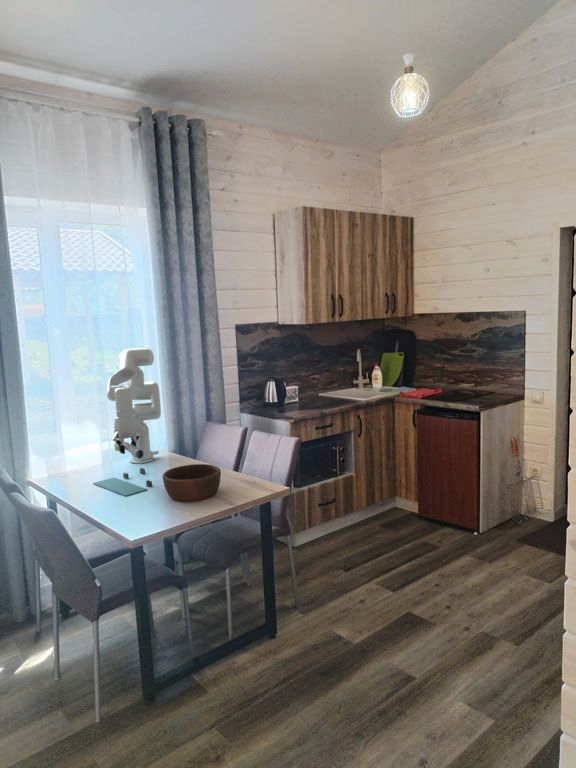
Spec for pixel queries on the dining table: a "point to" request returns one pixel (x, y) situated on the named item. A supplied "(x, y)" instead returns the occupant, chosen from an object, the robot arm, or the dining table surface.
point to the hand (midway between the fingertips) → (128, 451)
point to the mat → (120, 486)
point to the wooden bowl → (192, 482)
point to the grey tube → (130, 449)
